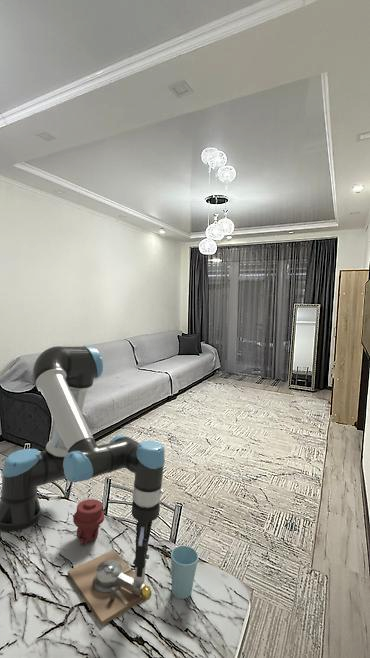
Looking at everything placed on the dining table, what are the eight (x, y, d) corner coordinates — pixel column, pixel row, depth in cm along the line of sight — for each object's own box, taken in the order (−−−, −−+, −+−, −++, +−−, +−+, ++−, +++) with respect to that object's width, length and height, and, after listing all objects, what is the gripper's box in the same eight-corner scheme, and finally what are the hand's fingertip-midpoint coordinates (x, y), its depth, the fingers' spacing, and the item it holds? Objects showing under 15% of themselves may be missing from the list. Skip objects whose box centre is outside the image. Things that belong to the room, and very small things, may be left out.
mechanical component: (107, 532, 114) (93, 552, 104) (81, 526, 116) (65, 545, 106) (110, 498, 114) (97, 514, 104) (84, 492, 116) (68, 507, 106)
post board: (67, 574, 94) (68, 561, 94) (113, 553, 105) (114, 540, 104) (101, 626, 80) (103, 610, 80) (151, 595, 90) (152, 580, 90)
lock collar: (107, 565, 97) (108, 554, 97) (156, 590, 89) (157, 578, 89) (90, 580, 90) (91, 569, 90) (141, 609, 83) (142, 597, 83)
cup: (187, 607, 87) (191, 569, 87) (162, 594, 91) (166, 557, 90) (199, 588, 94) (202, 552, 94) (175, 576, 97) (178, 542, 97)
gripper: (157, 516, 83) (149, 606, 83) (162, 489, 95) (155, 567, 96) (128, 513, 83) (120, 602, 84) (137, 486, 96) (130, 564, 97)
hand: (138, 584), depth 90 cm, fingers closed
